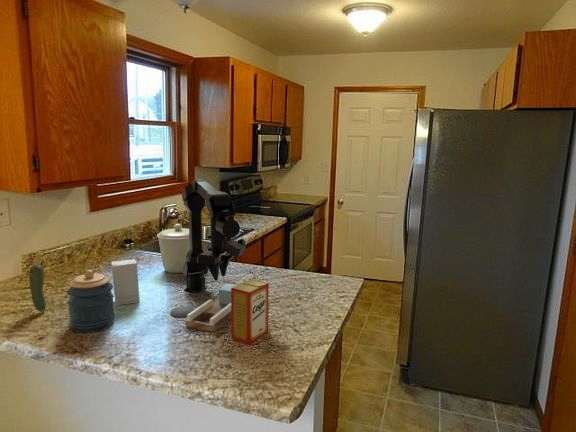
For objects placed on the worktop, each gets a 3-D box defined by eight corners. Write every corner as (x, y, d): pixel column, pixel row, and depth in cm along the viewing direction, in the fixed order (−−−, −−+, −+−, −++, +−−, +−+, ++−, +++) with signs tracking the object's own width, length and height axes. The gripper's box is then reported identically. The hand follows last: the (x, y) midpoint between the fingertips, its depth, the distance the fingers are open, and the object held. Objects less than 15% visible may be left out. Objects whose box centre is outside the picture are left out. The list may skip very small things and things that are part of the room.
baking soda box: (248, 344, 120) (248, 291, 117) (231, 338, 123) (231, 286, 120) (268, 332, 127) (268, 282, 125) (251, 326, 131) (251, 278, 128)
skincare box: (137, 297, 154) (136, 258, 151) (139, 302, 149) (138, 262, 146) (113, 300, 150) (111, 260, 148) (114, 306, 145) (112, 265, 142)
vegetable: (32, 315, 136) (26, 256, 133) (32, 310, 140) (27, 253, 136) (47, 313, 138) (42, 254, 135) (48, 308, 142) (43, 251, 139)
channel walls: (187, 320, 130) (186, 314, 129) (209, 304, 143) (209, 299, 142) (212, 325, 127) (212, 319, 126) (233, 308, 140) (233, 303, 139)
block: (218, 303, 144) (218, 289, 143) (226, 297, 150) (226, 284, 149) (231, 305, 143) (231, 291, 142) (239, 299, 148) (239, 285, 147)
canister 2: (149, 271, 185) (147, 224, 181) (181, 261, 199) (180, 218, 196) (177, 279, 175) (175, 229, 171) (208, 268, 189) (207, 223, 186)
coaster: (165, 315, 138) (165, 313, 138) (179, 306, 146) (179, 305, 146) (186, 319, 136) (186, 317, 136) (199, 310, 143) (199, 308, 143)
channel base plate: (185, 326, 130) (185, 320, 130) (223, 299, 153) (223, 293, 153) (214, 332, 127) (214, 325, 127) (248, 302, 150) (248, 297, 150)
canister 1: (85, 337, 122) (81, 279, 119) (60, 326, 129) (55, 271, 126) (123, 322, 133) (120, 268, 130) (98, 312, 140) (95, 261, 137)
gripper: (228, 240, 124) (228, 290, 127) (253, 228, 142) (253, 272, 145) (195, 237, 128) (196, 285, 131) (224, 226, 145) (224, 269, 148)
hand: (219, 277), depth 138 cm, fingers open, 5 cm apart
